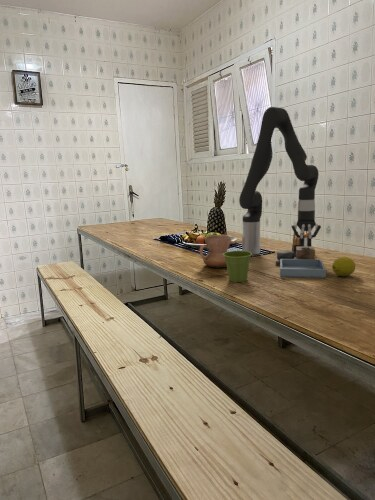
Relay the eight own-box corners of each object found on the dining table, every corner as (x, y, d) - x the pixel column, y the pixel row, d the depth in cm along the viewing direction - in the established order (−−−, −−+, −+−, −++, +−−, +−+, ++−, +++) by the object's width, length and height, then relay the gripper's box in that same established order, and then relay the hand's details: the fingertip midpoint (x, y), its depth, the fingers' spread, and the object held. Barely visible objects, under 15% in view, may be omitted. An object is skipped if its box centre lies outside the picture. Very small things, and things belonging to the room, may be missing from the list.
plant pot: (229, 275, 165) (228, 249, 163) (255, 277, 160) (255, 251, 158) (219, 282, 155) (218, 255, 152) (247, 285, 150) (247, 257, 147)
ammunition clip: (309, 252, 202) (310, 230, 200) (311, 253, 201) (312, 230, 198) (291, 254, 200) (291, 231, 197) (293, 255, 198) (293, 232, 196)
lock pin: (302, 259, 180) (302, 234, 177) (301, 257, 182) (302, 233, 180) (308, 259, 179) (309, 234, 176) (308, 257, 182) (308, 233, 179)
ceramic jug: (228, 260, 191) (227, 232, 189) (241, 266, 178) (240, 236, 175) (195, 265, 186) (193, 236, 183) (205, 272, 173) (204, 241, 170)
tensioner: (275, 265, 179) (275, 250, 177) (275, 259, 190) (276, 245, 188) (316, 266, 174) (316, 251, 173) (313, 259, 186) (314, 245, 184)
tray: (280, 276, 160) (280, 268, 159) (280, 266, 177) (280, 258, 176) (325, 278, 155) (326, 269, 155) (321, 266, 172) (321, 259, 172)
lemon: (347, 272, 162) (348, 254, 161) (360, 277, 155) (361, 257, 153) (325, 275, 159) (326, 256, 158) (337, 280, 152) (338, 260, 150)
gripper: (290, 210, 174) (290, 247, 177) (323, 210, 171) (321, 247, 174) (290, 208, 181) (290, 244, 185) (321, 208, 178) (320, 244, 181)
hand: (305, 246), depth 179 cm, fingers closed on lock pin, 2 cm apart
